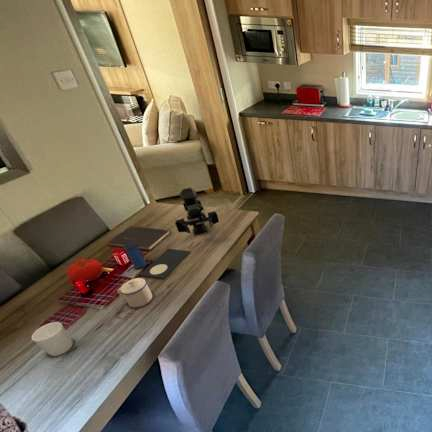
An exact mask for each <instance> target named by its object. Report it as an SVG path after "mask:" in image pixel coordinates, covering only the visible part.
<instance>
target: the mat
mask: <svg viewBox="0 0 432 432" xmlns="http://www.w3.org/2000/svg"><path fill="white" fill-rule="evenodd" d="M190 253H191V251H190V250H183V249H175V248H167V249H166V250H165V251H164V252H163V253H162V254H161V255H159V256H158V257H157V258H156V259H154V261H152V263H151V264H150V265H149V266H147V267H146V268H145V270H143V271H142V272H141V273H140V274H139V277H141V278H142V277H143V278H150V279H151V278H152V279H157V280H158V279H159V280H164V279H166V278H167V277H168V276H169V275H170V274H171V272H173V271H174V269H176V268H177V267H178V265H180V264H181V262H183V260H184V259H185V258H187V256H188V255H189V254H190Z"/></svg>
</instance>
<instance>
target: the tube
mask: <svg viewBox="0 0 432 432" xmlns="http://www.w3.org/2000/svg"><path fill="white" fill-rule="evenodd" d="M123 248H124V250H125V252H126V254H127V255H128V257H129V259H130V261H131V263H132V265H133V268H134V269H135V270H141V269H144V268H145V267H147V265H148V262H147V261H146V260H145V257H144V255H143V253H142V251H141V249H139V247H138V244H137V243H136V242H130V243H128V244H126V245H125V246H124V247H123Z"/></svg>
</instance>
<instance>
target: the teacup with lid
mask: <svg viewBox="0 0 432 432" xmlns="http://www.w3.org/2000/svg"><path fill="white" fill-rule="evenodd" d="M117 293H118V294H119V296H122V297H123V298H124V299H125V301H126V303H127V304H128V306H129V307H131V308H140V307H144V306H146V304H148V303H150V302H151V301H152V299H153V294H152V291H151V289H150V287H149V286H148V284H147V280H146V279H144V278H142V277H136V278H131V279H130V280H127V281H125V282H124V283H123V284H122V285H121V286H120V287H119V288H118V289H117Z"/></svg>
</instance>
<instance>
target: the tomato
mask: <svg viewBox="0 0 432 432" xmlns="http://www.w3.org/2000/svg"><path fill="white" fill-rule="evenodd" d="M103 271H104V267H103V264H102V263H100V262H99V261H98V260H97V259H93V258H89V259H77V260H75V262H74V263H72V264H71V265H69V268H67V274H66V275H67V277H68V279H69V280H71V281H73V282H75V281H76V280H78V279H81V278H82V279H85V280H88V281H90V282H91V280H92V281H95V280H97V279H99V278H100V277H101V276H102V274H103Z"/></svg>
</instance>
